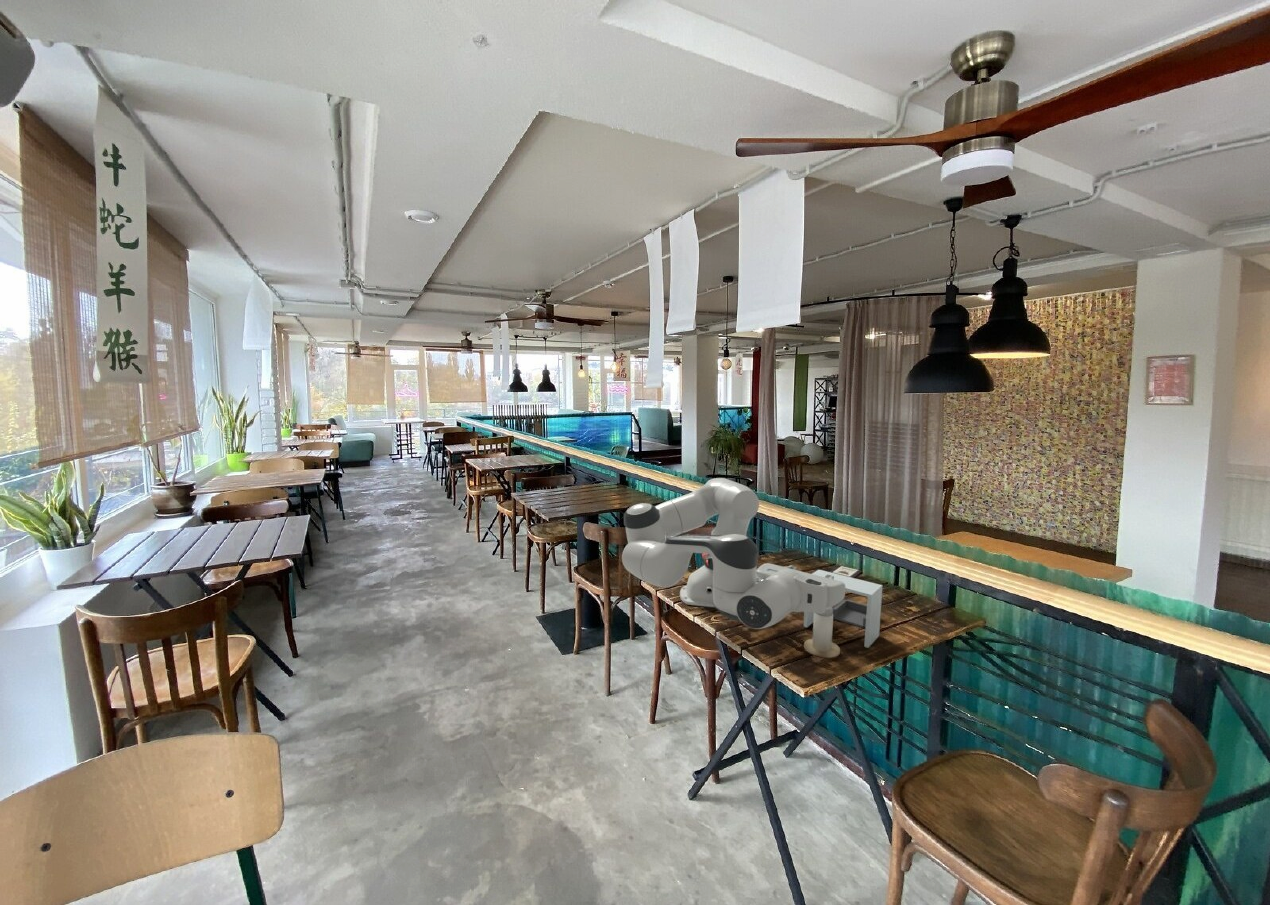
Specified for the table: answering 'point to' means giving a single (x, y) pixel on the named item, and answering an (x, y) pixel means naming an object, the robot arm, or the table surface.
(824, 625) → the shaker
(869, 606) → the tunnel
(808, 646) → the coaster
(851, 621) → the tray
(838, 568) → the chocolate bar
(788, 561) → the table surface
